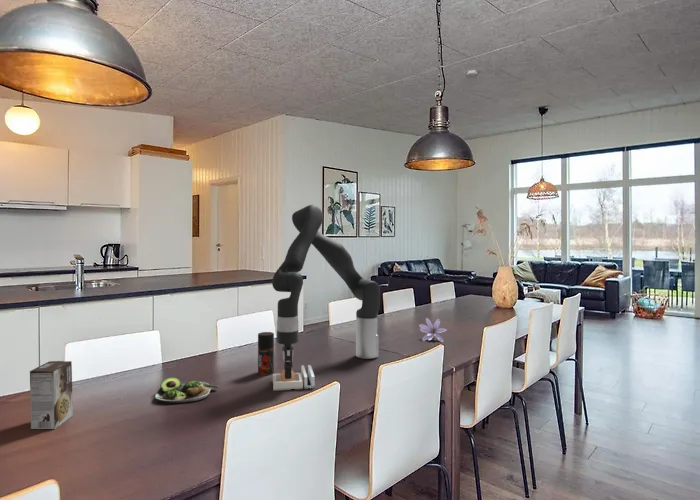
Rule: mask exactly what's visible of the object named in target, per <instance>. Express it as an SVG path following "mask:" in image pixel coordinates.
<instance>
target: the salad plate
mask: <svg viewBox="0 0 700 500" xmlns="http://www.w3.org/2000/svg"><path fill="white" fill-rule="evenodd" d="M159 387H160V388H159V389H158V390H157V392H156V393H155V395H154V398H153V399H154V400H155V401H154V402H157V403H158V404H163V405H174V404H182V403H185V404H186V403H191V402H196V401H197V402H198V401H200V400H204V399H205V398H208V396H209V395H210V392H211V391H212V390H214V389H218V388H220V386H219V385H215V384H209V383H208V382H205V381H197V380H191V381H189V382H187V381H186V382H184V381H181V379H179V378H177V377H167V378H165V379H163V381H162V382H161V383H160V386H159ZM192 396H193V398H189V397H192ZM195 396H196V397H195ZM186 398H187V399H186Z"/></svg>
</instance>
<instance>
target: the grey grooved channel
mask: <svg viewBox="0 0 700 500" xmlns="http://www.w3.org/2000/svg"><path fill="white" fill-rule="evenodd" d="M300 369H301V370H300V372H301V375H302V379H303V389H304V390H308V388H310V389H311V388H312V389H315V388H316V386H315V384H316V383H315V382H316V381H315V379H316V378H315V377H316V376H315V373H314V371H313V367H312V365H311V364H308V365H307V370H306V367H305V365H303V364H302V365H301V367H300ZM308 382H309V384H310V385H309V384H308ZM310 389H309V390H310Z"/></svg>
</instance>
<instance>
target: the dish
mask: <svg viewBox="0 0 700 500" xmlns="http://www.w3.org/2000/svg"><path fill="white" fill-rule="evenodd" d="M280 374H281V373H273V374H272V392H274V391H275V392H276V391H277V392H278V391H291V389H295V390H303V389H304V385H303V379H302V375H301V371H300V372H294V374H295V377H294V380H293V381H285V382H283V381H282V380H281V378H280Z"/></svg>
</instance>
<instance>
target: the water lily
mask: <svg viewBox="0 0 700 500" xmlns="http://www.w3.org/2000/svg"><path fill="white" fill-rule="evenodd" d="M425 323H426V324H423V323H422V324H419V327H420V328H419V330H420V331H421V332H422V333H426V334H425V335H424V336H423V337H422V340H421V341H422V342H425V341H431V340H432V339H437V340H438V341H439V342H442V343H444V338H443V337H442V336H441V335H440V334H441V333H444V332H446V331H447V330H448V329H447V328H441V327H440V325H441V320H440V318H437V319H436V320H435V321H434V323H432V321H431V320H430V319H429V318H427V317H426V318H425Z"/></svg>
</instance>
